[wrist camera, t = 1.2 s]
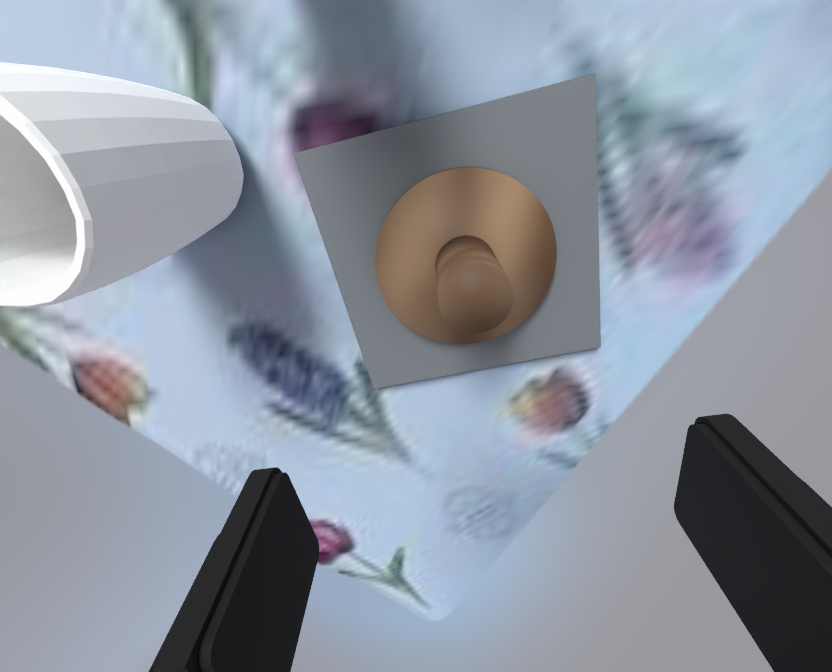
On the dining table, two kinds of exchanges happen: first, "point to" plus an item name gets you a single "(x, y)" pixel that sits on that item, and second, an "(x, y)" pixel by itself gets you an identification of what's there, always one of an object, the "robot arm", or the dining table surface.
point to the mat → (450, 148)
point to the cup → (102, 180)
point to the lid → (465, 255)
